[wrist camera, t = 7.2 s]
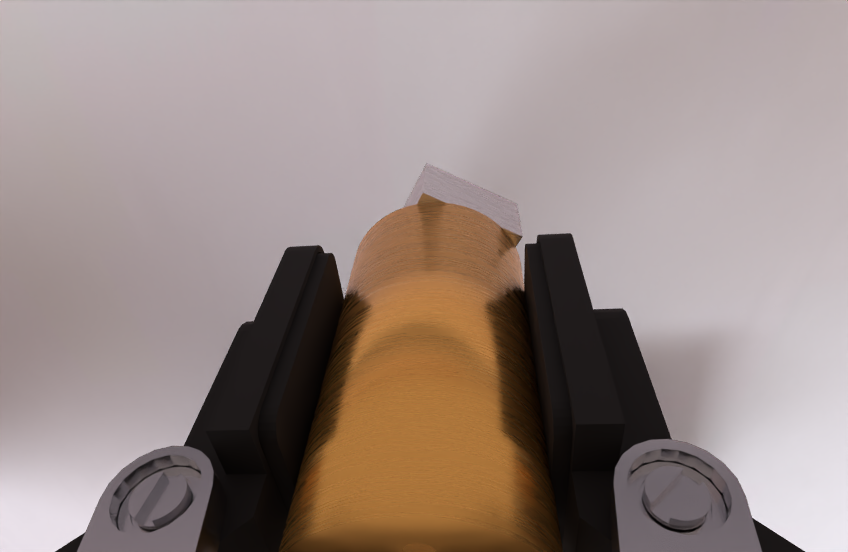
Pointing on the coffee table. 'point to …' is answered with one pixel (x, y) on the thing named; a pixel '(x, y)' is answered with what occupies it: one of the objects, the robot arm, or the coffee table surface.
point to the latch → (430, 391)
